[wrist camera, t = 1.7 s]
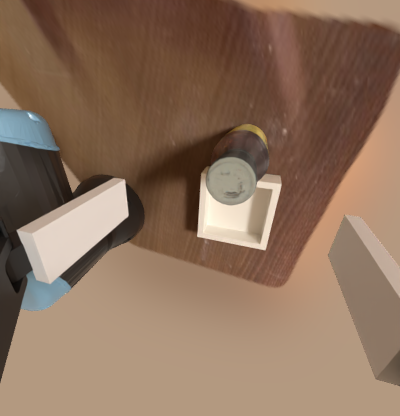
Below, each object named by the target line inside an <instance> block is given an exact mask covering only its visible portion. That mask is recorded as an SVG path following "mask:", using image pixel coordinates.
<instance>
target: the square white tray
mask: <svg viewBox="0 0 400 416" xmlns="http://www.w3.org/2000/svg"><path fill="white" fill-rule="evenodd" d="M209 168H210V166H207V167H206V168H205V169H204V170H203V172H202V173H201V187H200V203H199V219H198V235H197V237H202V238H207V239H212V240H217V241H222V242H227V243H232V244H237V245H242V246H247V247H252V248H257V249H262V250H266V246H267V242H268V238H269V234H270V230H271V226H272V222H273V217H274V213H275V209H276V205H277V201H278V197H279V193H280V189H281V185H282V184H281V178H280V176H279V175H271V174H265V175H264V176H263V177H262V178H261V179H260V180H259V181H258V182H257V185H256V189H255V192H254V193H253V195H252V196H251V197H250V198H249V199H248V200H247V201H245V202H243V203H240V204H237V205H225V204H222V203H220V202H218V201H216V200H215V199H214V198H213V197H212V196H211V194H210V193H209V191H208V189H207V187H206V175H207V172H208V169H209Z"/></svg>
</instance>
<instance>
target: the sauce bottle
mask: <svg viewBox="0 0 400 416" xmlns="http://www.w3.org/2000/svg"><path fill="white" fill-rule="evenodd" d="M211 156H212V157H211V166H210V168H209V169H208V172H207V175H206V187H207V189H208V191H209V193H210V194H211V196H212V197H213V198H214V199H215V200H216V201H218V202H220V203H222V204H225V205H237V204H240V203H243V202H245V201H247V200H248V199H249V198H250V197H251V196H252V195H253V193H254V192H255V189H256V185H257V182H258V181H259V180H260V179H261V178H262V177H263V176H264V175H265V173H266V171H267V169H268V165H269V152H268V146H267V140H266V137H265V135H264V133H263V132H262V130H261V129H259V128H258V127H256V126H254V125H251V124H243V125H240V126H237V127H236V128H234V129H233V130H231V131H230V132H229V133H228V134H226V135H225V136H224V137H223V138H222V139H221V140H220V141H219V142H218V144H217V145H216V146H215V148H214V150H213V153H212V155H211Z"/></svg>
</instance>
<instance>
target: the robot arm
mask: <svg viewBox="0 0 400 416" xmlns="http://www.w3.org/2000/svg"><path fill="white" fill-rule="evenodd" d="M58 151H60V149H59V147H58V146H57V145H56V143H55V140H54V138H53V135H52V133H51V130H50V128H49V125H48V123H47V122H46V120H45V119H44V118H43V117H42V116H40V115H39V114H37V113H35V112H32V111H26V110H15V109H2V108H0V381H1V378H2V374H3V371H4V367H5V363H6V359H7V356H8V352H9V349H10V345H11V341H12V337H13V334H14V330H15V326H16V323H17V319H18V316H19V312H20V309H24V310H29V311H39V310H44V309H46V308H48V307H50V306H51V305H53V304H54V303H55V302H56V301H57V300H58V299H60V298H61V297H62V296H63V295H64V294H65V293H68V292H69V291H70V290H71V288H72V287H73V286H74V285H75V284H76V283H77V282H78V281H79V280H80V279H81V278H82V277H83V276H84V275H85V274H86V273H87V272H88V271H89V270H90V269H91V268H92V267H93V266H94V265H95V264H96V263H97V262H98V261H99V260H100V259H101V258H102V257H103V256H104V255H105V254H106V252H107V251H109V250H110V249H112V248H114V247H117V246H119V245H121V244H123V243H126V242H128V241H130V240H131V239H133V238H134V237H135V236H136V235H137V234H138V233H139V231H140V230H141V229H142V227H143V224H144V210H143V206H142V203H141V201H140V199H139V197H138V196H137V194H136V193H135V192H134V191H133V190H132V188H131V187H130V186H128V185H127V184H126V183H125V179H119V178H116V177H113V176H109V175H96V176H93V177H91V178H89V179H87V180H85V181H83V182H82V183H81V184H80V185H79V186H78V187H77V189H76V190H75V192H73V193H72V191H71V188H70V185H69V182H68V179H67V176H66V173H65V170H64V167H63V164H62V161H61V158H60V155H59V152H58ZM328 257H329V259H330V262H331V265H332V267H333V270H334V272H335V275H336V277H337V280H338V283H339V285H340V288H341V291H342V293H343V296H344V298H345V301H346V303H347V306H348V308H349V311H350V314H351V316H352V319H353V322H354V324H355V327H356V329H357V332H358V334H359V337H360V340H361V342H362V345H363V348H364V350H365V353H366V355H367V358H368V360H369V363H370V366H371V368H372V371H373V373H374V376H375V378H376V379H377V380H381V381H384V382H388V383H391V384H394V385H398V386H400V267H399V266H398V265H397V263H396V262H395V261H394V259H393V258H392V257H391V255H390V254H389V253H388V252H387V250H386V249H385V248H384V247H383V245H382V244H381V243H380V241H379V240H378V239H377V237H376V236H375V235H374V234H373V232H372V231H371V230H370V229H369V227H368V226H367V225H366V224H365V222H364V221H363V220H362V218H361V217H357V216H350V215H344V218H343V220H342V222H341V225H340V227H339V230H338V232H337V234H336V237H335V239H334V242H333V244H332V246H331V249H330V251H329V254H328Z"/></svg>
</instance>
